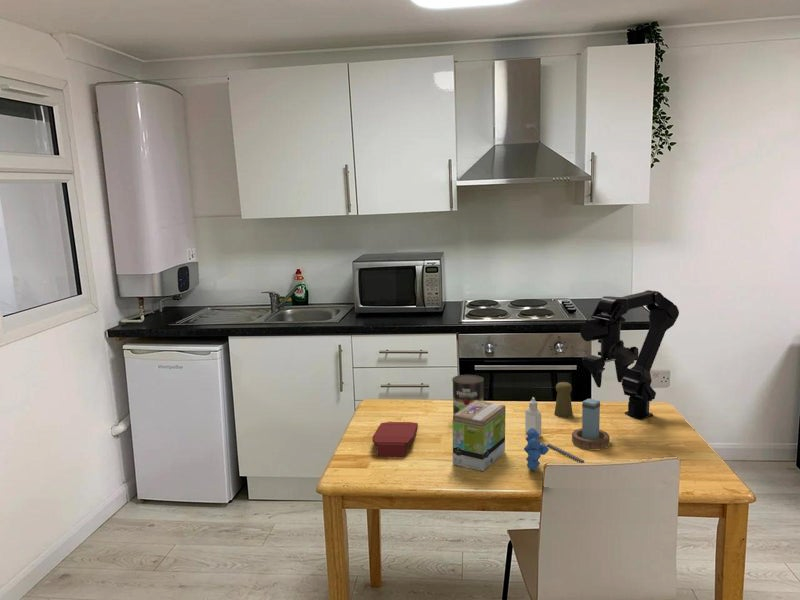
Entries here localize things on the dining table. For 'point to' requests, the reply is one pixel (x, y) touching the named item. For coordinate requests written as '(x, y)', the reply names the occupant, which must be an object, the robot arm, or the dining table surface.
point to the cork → (563, 400)
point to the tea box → (478, 435)
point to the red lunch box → (394, 438)
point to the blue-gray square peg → (590, 419)
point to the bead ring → (590, 444)
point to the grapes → (534, 449)
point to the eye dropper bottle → (533, 417)
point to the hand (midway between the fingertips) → (609, 384)
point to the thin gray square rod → (564, 452)
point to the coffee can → (466, 391)
